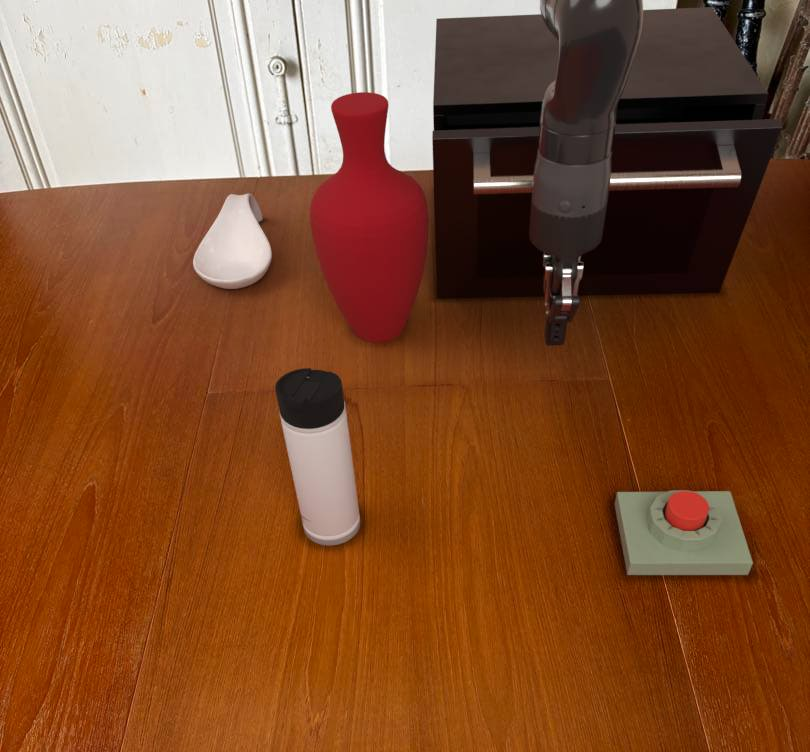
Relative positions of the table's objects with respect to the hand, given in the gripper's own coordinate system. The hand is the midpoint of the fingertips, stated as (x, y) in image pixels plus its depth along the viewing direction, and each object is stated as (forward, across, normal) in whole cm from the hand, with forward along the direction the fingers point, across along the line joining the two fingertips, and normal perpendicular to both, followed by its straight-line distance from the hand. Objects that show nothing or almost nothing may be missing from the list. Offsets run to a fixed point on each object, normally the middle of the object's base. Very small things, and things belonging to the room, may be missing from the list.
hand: (554, 341), depth 94 cm
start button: (+6, -22, -12) cm, 26 cm away
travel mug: (+10, -20, +25) cm, 34 cm away
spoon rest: (+10, +37, +45) cm, 59 cm away
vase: (+10, +17, +22) cm, 29 cm away
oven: (+9, +42, -6) cm, 43 cm away
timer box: (+9, -22, -12) cm, 27 cm away
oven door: (+10, +22, -6) cm, 25 cm away
